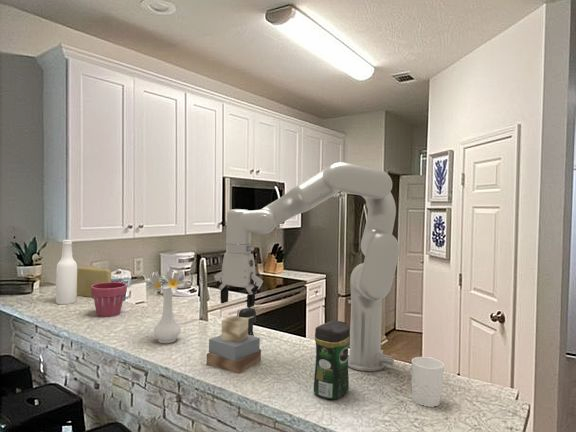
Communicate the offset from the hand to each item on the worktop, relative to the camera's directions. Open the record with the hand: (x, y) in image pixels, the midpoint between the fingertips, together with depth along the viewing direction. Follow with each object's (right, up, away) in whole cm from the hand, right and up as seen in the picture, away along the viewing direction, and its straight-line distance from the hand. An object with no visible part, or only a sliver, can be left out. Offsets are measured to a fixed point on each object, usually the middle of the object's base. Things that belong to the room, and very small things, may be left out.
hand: (237, 304), depth 126 cm
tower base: (-1, -19, 0) cm, 19 cm away
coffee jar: (+27, -20, -18) cm, 38 cm away
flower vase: (-28, -17, +19) cm, 38 cm away
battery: (+1, -18, +22) cm, 29 cm away
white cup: (+51, -20, -22) cm, 59 cm away
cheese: (-82, -14, +82) cm, 117 cm away
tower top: (-1, -15, 0) cm, 15 cm away
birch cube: (-1, -11, 0) cm, 11 cm away
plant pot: (-62, -16, +51) cm, 82 cm away
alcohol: (-90, -14, +69) cm, 114 cm away
